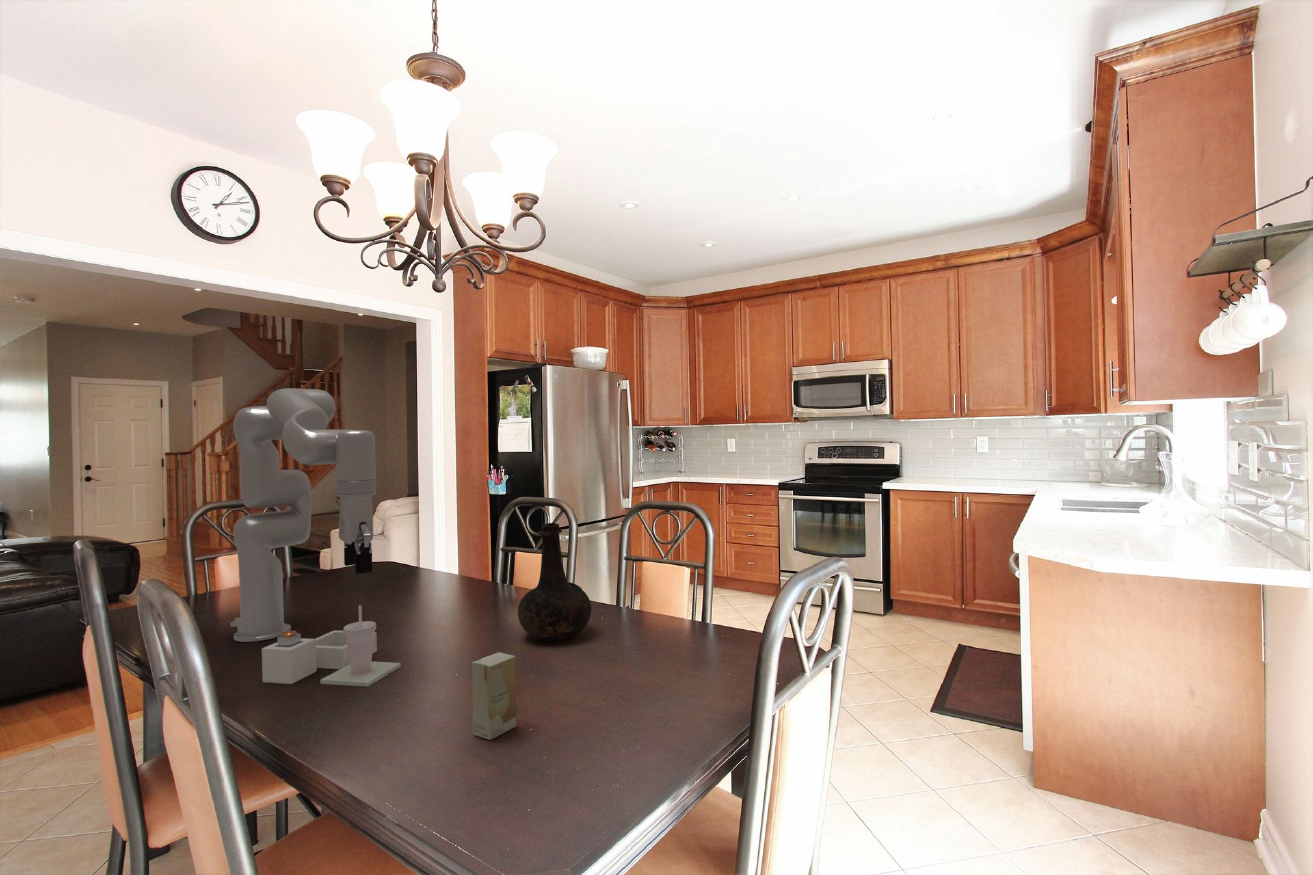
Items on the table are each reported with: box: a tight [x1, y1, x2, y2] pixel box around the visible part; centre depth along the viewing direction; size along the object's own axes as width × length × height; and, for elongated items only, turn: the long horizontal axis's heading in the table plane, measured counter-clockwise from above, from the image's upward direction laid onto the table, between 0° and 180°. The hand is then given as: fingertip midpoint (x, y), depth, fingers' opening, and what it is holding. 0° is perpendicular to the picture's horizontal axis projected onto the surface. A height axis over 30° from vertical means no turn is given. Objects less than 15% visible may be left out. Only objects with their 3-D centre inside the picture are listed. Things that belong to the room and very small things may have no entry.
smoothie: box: [342, 605, 377, 674], centre depth 133 cm, size 6×6×14 cm
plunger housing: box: [261, 637, 318, 685], centre depth 133 cm, size 7×7×7 cm
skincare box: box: [471, 651, 517, 741], centre depth 106 cm, size 6×4×12 cm
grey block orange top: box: [276, 630, 302, 647], centre depth 132 cm, size 3×3×7 cm
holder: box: [315, 630, 378, 670], centre depth 143 cm, size 11×11×4 cm
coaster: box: [319, 661, 402, 688], centre depth 132 cm, size 11×11×1 cm
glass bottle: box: [517, 522, 592, 642], centre depth 155 cm, size 18×18×28 cm
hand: (357, 568), depth 133 cm, fingers open, 9 cm apart
